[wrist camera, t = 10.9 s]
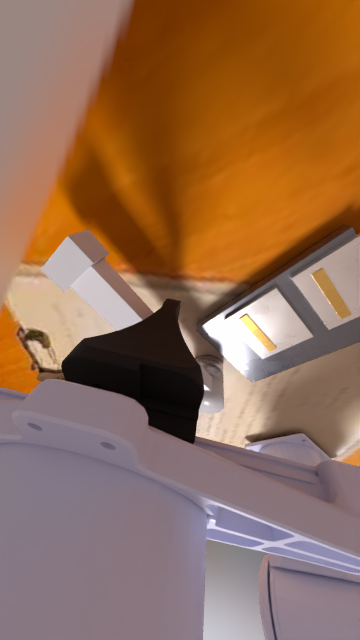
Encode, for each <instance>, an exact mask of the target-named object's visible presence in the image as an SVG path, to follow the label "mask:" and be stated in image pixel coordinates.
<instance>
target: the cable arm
mask: <svg viewBox="0 0 360 640" xmlns="http://www.w3.org/2000/svg"><path fill="white" fill-rule="evenodd" d="M108 254H109V252H108V251H107V250H106V249H105V248H104V246H103V245H102V244H101V243H100V242H99V241H98V240H97V239H96V237H95V236H94V235H93V234H92V233H91V232H90V231H89V229H88V230H85V231H82V232H79V233H75V234H72V235H69V236H67V237H66V239H65V240H64V241H63V242H62V244H61V245H60V246H59V247H58V249H57V250H56V251H55V252H54V254H53V255H52V256H51V257H50V258H49V260H48V261H47V262H46V263H45V265H44V266H43V267H42V268H41V271H42V272H43V273H45V274H46V275H47V276H48V277H49V278H50V279H51V280H52V281H53V282H54V283H55V284H57V285H58V286H59V287H60V288H61V289H62V290H63V291H66V290H67V289H69V288H70V287H71V288H72V289H73V290H74V291H75V292H76V293H77V294H78V295H79V296H80V297H81V298H82V299H84V300H85V301H86V302H87V303H88V304H89V305H90V306H91V307H92V308H93V309H94V310H95V311H96V312H97V313H98V314H99V315H101V316H102V317H103V318H104V319H105V320H106V321H107V322H108V323H109V324H110V325H111V326H112V327H113V328H114V329H115V330H117V331H118V330H121V329H124V328H126V327H129V326H132V325H134V324H136V323H138V322H140V321H142V320H144V319H146V318H147V317H149V316H150V315H152V314H153V312H152V311H151V310H150V308H149V307H148V306H147V305H146V304H145V303H144V302H143V301H142V300H141V298H140V297H139V296H138V295H137V294H136V293H135V292H134V291H133V290H132V289H131V287H130V286H129V285H128V284H127V283H126V282H125V281H124V280H123V279H122V278H121V276H120V275H119V274H118V273H117V272H116V271H115V270H114V269H113V268H112V267H111V265H110V264H109V263H108V262H107V261H106V260H105V259H104V258H105V257H106V256H107V255H108ZM196 361H197V360H196ZM197 362H198V361H197ZM198 363H199V362H198ZM199 365H200V363H199ZM200 366H201V365H200ZM201 370H202V375H203V381H204V397H203V400H202V403H201V405H200V408H199V412H202V413H207V414H212V413H217V412H220V411H221V410H222V409H223V408H224V388H223V383H222V381H221V380H219V379H218V378H216V377H214V376H210V374H209V373H208V372H207V371H206V370H205V369H204V368H203V367H202V366H201Z"/></svg>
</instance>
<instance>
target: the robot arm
mask: <svg viewBox="0 0 360 640" xmlns="http://www.w3.org/2000/svg"><path fill="white" fill-rule="evenodd" d="M180 303H181V301H177V300H172V299H168V298H167V299H166V301H165V302H164V304H163V306H162V307H161V308H160V309H159V310H157V311H156V312H155V313H153V314H152V315H150V316H149V317H147V318H146V319H144V320H142V321H140V322H138V323H136V324H134V325H132V326H129V327H126V328H124V329H121V330H118V331H115V332H112V333H108V334H104V335H100V336H95V337H90V338H84V339H83V340H82V341H81V342H80V343H79V344H78V345H77V346H76V347H75V348H74V349H73V350H72V351H71V353H70V354H69V355H68V356H67V357H66V358H65V359H64V360H63V361H62V365H61V367H62V372H63V375H64V378H65V380H66V381H64V380H58V379H46V380H44V381H43V382H41V383H39V384H38V385H37V387H36V388H35V389H34V390H33V391H32V392H31V393H30V394H25V393H21V392H17V391H14V390H10V389H6V388H2V387H0V640H203V618H204V594H205V568H206V567H205V566H206V541H207V539H210V540H214V541H219V542H224V543H227V544H232V545H236V546H241V547H245V548H249V549H254V550H258V551H263V552H267V553H268V555H266V556H265V557H264V559H263V562H262V564H261V567H260V571H259V602H260V612H261V619H262V625H263V631H264V635H265V640H360V467H359V466H355V465H351V464H347V463H343V462H339V461H335V460H332V459H331V458H330V457H329V456H327V455H326V454H325V453H324V452H323V451H322V450H321V449H320V448H319V447H318V446H317V445H316V444H314V443H313V442H312V441H311V440H310V439H309V438H308V437H307V436H306V435H305V434H302V433H298V434H293V435H288V436H283V437H278V438H273V439H268V440H264V441H259V442H254V443H249V444H245V449H244V448H240V447H236V446H232V445H228V444H224V443H220V442H216V441H212V440H208V439H204V438H201V437H197V436H195V435H196V425H197V420H198V414H199V408H200V405H201V403H202V400H203V397H204V381H203V375H202V370H201V366H200V365H199V363H198V362H197V361H196V359H195V358H194V357H193V355H192V354H191V352H190V350H189V349H188V347H187V345H186V343H185V341H184V339H183V336H182V334H181V331H180V327H179V323H178V316H179V310H180Z"/></svg>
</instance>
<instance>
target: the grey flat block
mask: <svg viewBox="0 0 360 640" xmlns="http://www.w3.org/2000/svg"><path fill="white" fill-rule="evenodd" d="M196 331H197V332H199V333H200V334H201V335H202V336H203V337H204V338H205V339H206V340H207V341H208V342H209V343H210V344H211V345H212V346H214V347H215V348H216V349H217V350H218V351H219V352H220V353H221V354H222V355H223V356H224V357H225V358H226V359H227V360H229V361H230V362H231V363H232V364H233V365H234V366H235V367H236V368H237V369H238V370H239V371H240V372H241V373H242V374H244V375H245V376H246V377H247V378H248V379H249V380H250V381H251V382H252V383H253V382H256V381H258V380H261V379H264V378H266V377H269V376H271V375H274V374H277V373H279V372H282V371H285V370H287V369H290V368H292V367H295V366H298V365H300V364H303V363H305V362H308V361H311V360H313V359H316V358H318V357H321V356H324V355H326V354H329V353H331V352H334V351H337V350H339V349H342V348H345V347H347V346H350V345H352V344H355V343H358V342H360V233H358V234H357V235H356V233H355V231H354V229H353V227H351V226H347V225H343V226H341V227H340V228H338V229H337V230H335V231H334V232H333V233H331V234H330V235H328V236H327V237H325V238H324V239H322V240H321V241H319V242H318V243H316V244H315V245H313V246H312V247H310V248H309V249H307V250H306V251H304V252H303V253H301V254H300V255H298V256H297V257H295V258H294V259H293V260H291V261H290V262H288V263H287V264H285V265H284V266H282V267H281V268H279V269H278V270H276V271H275V272H273V273H272V274H270V275H269V276H267V277H266V278H264V279H263V280H261V281H260V282H258V283H257V284H255V285H254V286H253V287H251V288H250V289H248V290H247V291H245V292H244V293H242V294H241V295H239V296H238V297H236V298H235V299H233V300H232V301H230V302H229V303H227V304H226V305H224V306H223V307H221V308H220V309H218V310H217V311H216V312H214V313H213V314H211V315H210V316H208V317H207V318H205V319H204V320H202V321H201V322H199V323H198V324H197V325H196ZM196 360H197V361H198V362H199V363H200V365H201V366H202V367H203V368H204V369H205V370H206V371H207V372H208V373H209V374H210V376H214V377H216V378H218V379H219V380H221V381H222V383H223V364H222V362H221V361H220V360H219V359H218V358H216V357H214V356H201V357H199V358H197V359H196Z"/></svg>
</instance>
